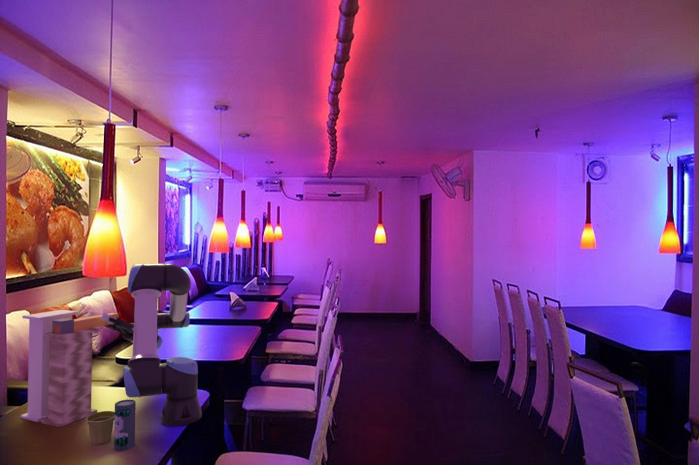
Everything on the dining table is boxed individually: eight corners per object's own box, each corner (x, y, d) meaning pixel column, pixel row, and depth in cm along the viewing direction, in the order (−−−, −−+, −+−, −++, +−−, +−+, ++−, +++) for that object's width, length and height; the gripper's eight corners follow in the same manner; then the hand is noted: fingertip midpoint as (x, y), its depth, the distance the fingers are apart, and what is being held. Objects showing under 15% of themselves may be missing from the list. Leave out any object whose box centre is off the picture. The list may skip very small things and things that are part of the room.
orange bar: (110, 321, 197) (110, 310, 198) (119, 322, 196) (119, 311, 196) (52, 333, 173) (52, 320, 173) (61, 334, 171) (61, 321, 171)
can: (110, 447, 153) (111, 403, 153) (128, 441, 158) (129, 398, 158) (120, 452, 149) (121, 407, 149) (137, 445, 154) (138, 402, 154)
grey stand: (60, 404, 191) (61, 309, 192) (76, 407, 188) (78, 311, 188) (20, 417, 177) (22, 315, 177) (37, 422, 173) (39, 317, 173)
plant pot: (103, 448, 152) (103, 422, 152) (78, 445, 154) (79, 420, 154) (122, 436, 161) (122, 412, 162) (99, 433, 163) (99, 409, 163)
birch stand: (80, 408, 187) (81, 326, 187) (97, 412, 183) (98, 328, 183) (41, 422, 172) (42, 333, 172) (58, 427, 168) (60, 336, 169)
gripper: (147, 343, 201) (109, 325, 182) (115, 339, 208) (75, 321, 190) (154, 327, 204) (117, 308, 186) (122, 324, 212) (83, 305, 193)
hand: (96, 315), depth 188 cm, fingers open, 7 cm apart
